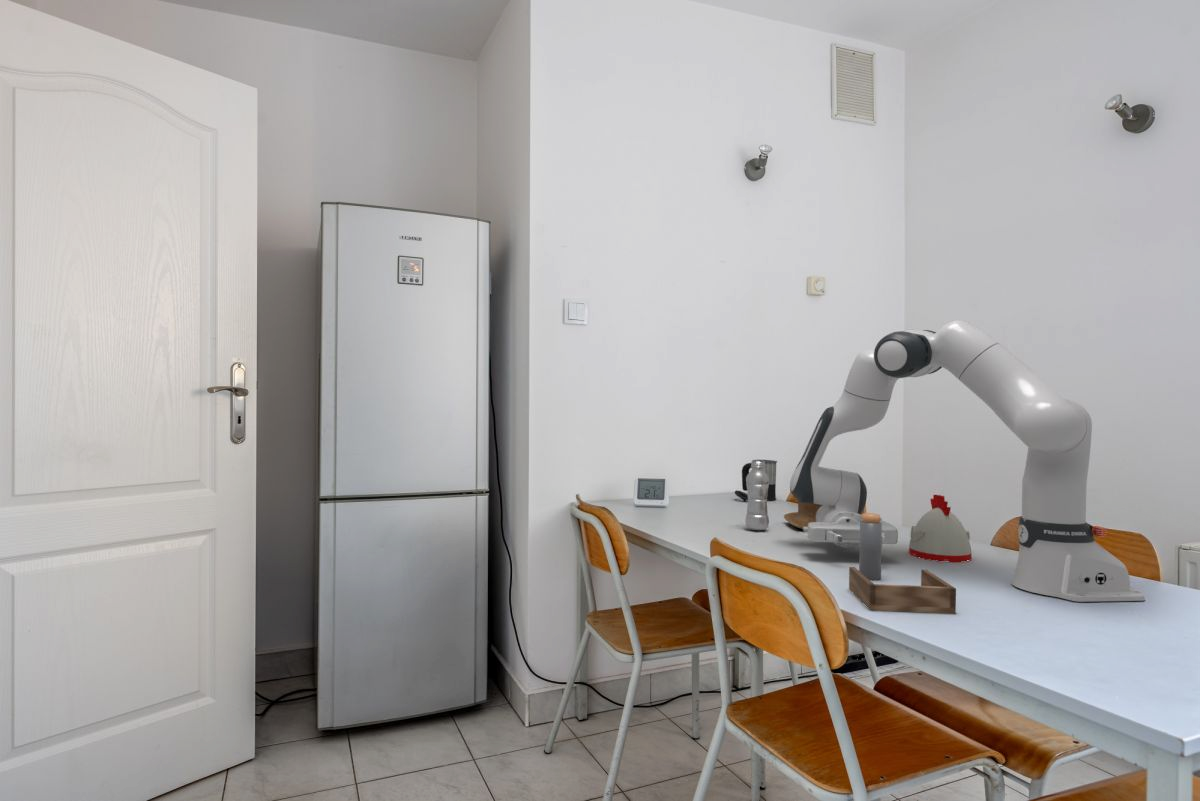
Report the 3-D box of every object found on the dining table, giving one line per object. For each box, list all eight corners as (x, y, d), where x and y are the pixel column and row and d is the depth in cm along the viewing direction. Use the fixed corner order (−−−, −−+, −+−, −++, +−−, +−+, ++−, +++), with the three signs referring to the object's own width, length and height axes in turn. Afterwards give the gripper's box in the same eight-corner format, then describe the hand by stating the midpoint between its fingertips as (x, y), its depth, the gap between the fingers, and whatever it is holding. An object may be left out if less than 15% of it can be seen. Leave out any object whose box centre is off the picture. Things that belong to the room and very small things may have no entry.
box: (926, 592, 140) (926, 569, 140) (955, 613, 126) (956, 588, 126) (849, 589, 141) (849, 566, 141) (869, 610, 127) (870, 585, 127)
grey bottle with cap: (877, 575, 153) (878, 513, 152) (883, 580, 148) (884, 516, 148) (856, 574, 153) (857, 512, 153) (862, 580, 149) (863, 515, 148)
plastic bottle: (769, 533, 199) (770, 462, 199) (745, 531, 200) (746, 461, 200) (768, 529, 205) (769, 460, 205) (744, 527, 207) (746, 459, 207)
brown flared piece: (835, 533, 201) (836, 480, 200) (793, 532, 201) (794, 479, 201) (821, 523, 216) (822, 475, 216) (782, 522, 216) (783, 474, 216)
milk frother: (778, 498, 268) (779, 460, 268) (770, 504, 254) (771, 463, 254) (741, 496, 274) (742, 458, 274) (731, 501, 260) (732, 461, 259)
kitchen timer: (952, 550, 180) (953, 491, 180) (983, 562, 167) (984, 499, 167) (899, 549, 180) (900, 491, 180) (925, 562, 166) (926, 499, 166)
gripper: (801, 514, 174) (813, 524, 160) (886, 516, 172) (906, 527, 158) (801, 540, 174) (813, 552, 160) (886, 542, 172) (905, 555, 158)
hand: (860, 539), depth 159 cm, fingers open, 8 cm apart
